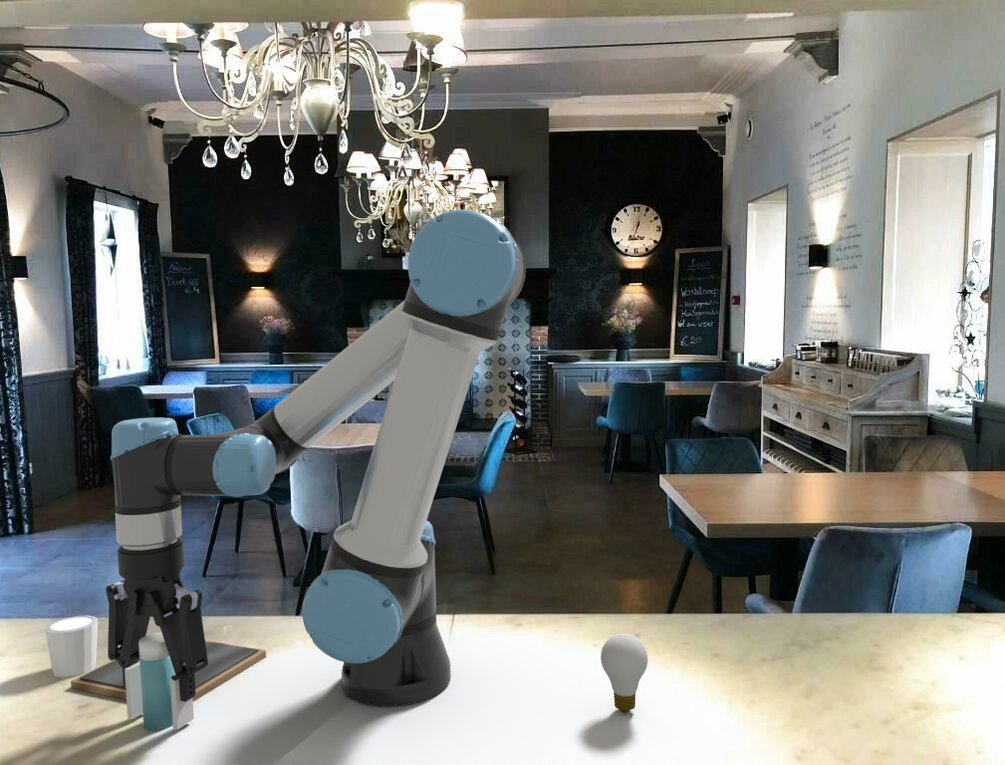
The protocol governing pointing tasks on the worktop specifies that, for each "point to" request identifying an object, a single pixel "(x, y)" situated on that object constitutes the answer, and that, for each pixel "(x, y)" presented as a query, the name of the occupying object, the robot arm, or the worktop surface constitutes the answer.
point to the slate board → (220, 666)
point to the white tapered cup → (72, 645)
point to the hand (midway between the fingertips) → (160, 718)
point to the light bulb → (624, 668)
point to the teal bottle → (155, 682)
